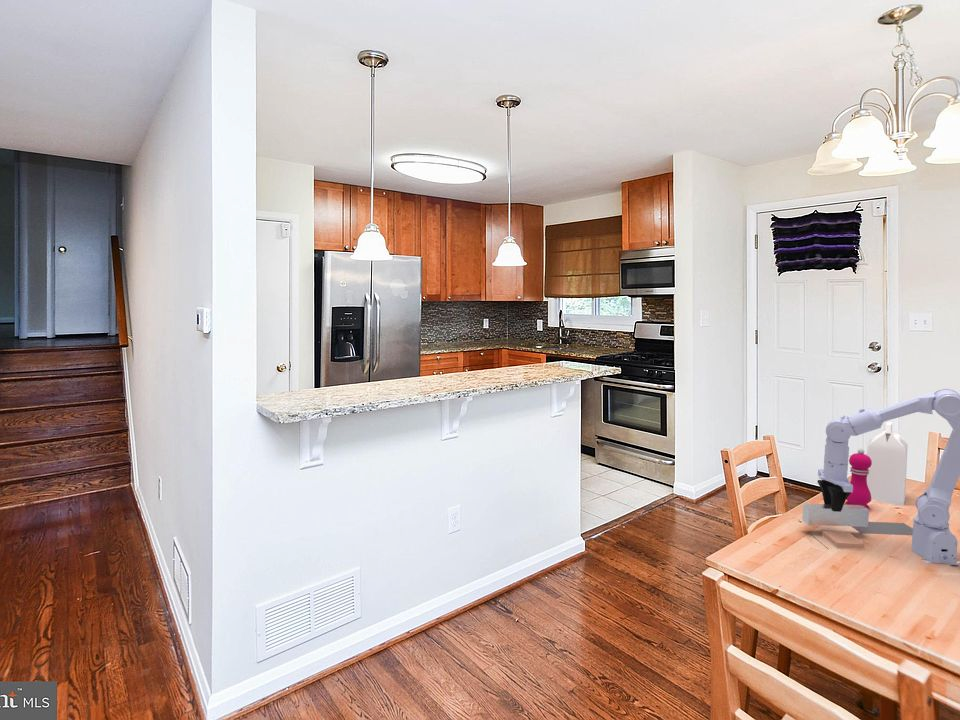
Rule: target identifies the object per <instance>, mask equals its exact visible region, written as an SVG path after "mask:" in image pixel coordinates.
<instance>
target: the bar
mask: <svg viewBox="0 0 960 720" xmlns="http://www.w3.org/2000/svg"><path fill="white" fill-rule="evenodd" d="M869 515H870V508H869V509H867V508H866V507H864V506H862V505H845V504H844V505H843V508H842V510H841V512H835V511H832V507H831V504H824V503H802V517H801V521H802V522H804V524H806V525H807V526H826V527H829V526H830V527H851V526H858V527H868V522H869Z"/></svg>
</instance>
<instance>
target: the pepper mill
mask: <svg viewBox="0 0 960 720" xmlns="http://www.w3.org/2000/svg"><path fill="white" fill-rule="evenodd" d="M848 464H849V465H850V466H851V467H850V468H849V469H850V471H849V472H850V473H851V478H850V480H849V482H850V484H851V485H853V492H852V493H851V494H850V495H849V496H848V497H847V499H846V501H845V503H844V505H862V506H864V507H866V508H867V509H869V510H870V506H869V504H870V502H872V501H871V493H870V490H869V488H868V486H867V475H868V474H869V470H868V468H869V467H871V465H872V461H871V458H870V457H869V456H867V454H865V450H864V449H863V448H859V449H857V452H856V453H853V454H851V455H850V456H849V457H848Z"/></svg>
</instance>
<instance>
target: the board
mask: <svg viewBox="0 0 960 720" xmlns="http://www.w3.org/2000/svg"><path fill="white" fill-rule="evenodd" d="M850 527H852V528H853V529H854V530H856V531H857V532H858V533H860V534H869V535H870V534H871V535H875V534H876V535H897V536H912V533H913V527H912V526H910V525H908V524H906V523H905V522H888V521H887V522H885V521H884V522H882V521H868V527H858V526H850Z"/></svg>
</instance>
